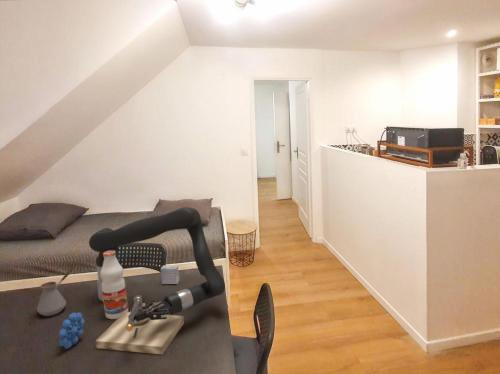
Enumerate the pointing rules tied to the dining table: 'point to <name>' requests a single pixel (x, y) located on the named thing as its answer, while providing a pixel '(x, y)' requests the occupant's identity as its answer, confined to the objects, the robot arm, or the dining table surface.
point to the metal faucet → (135, 310)
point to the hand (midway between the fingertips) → (135, 318)
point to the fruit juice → (113, 286)
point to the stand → (141, 335)
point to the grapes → (71, 330)
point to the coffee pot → (51, 298)
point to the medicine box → (170, 274)
